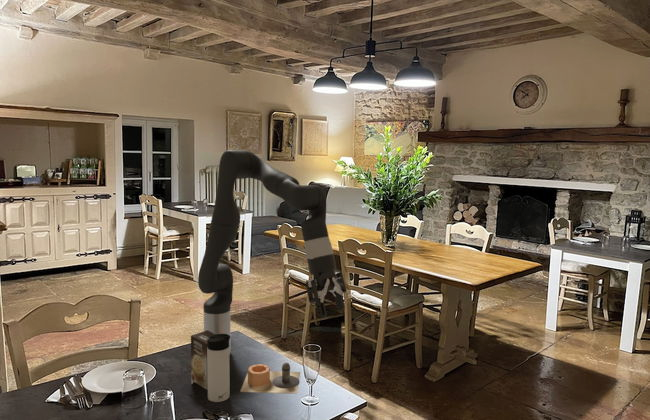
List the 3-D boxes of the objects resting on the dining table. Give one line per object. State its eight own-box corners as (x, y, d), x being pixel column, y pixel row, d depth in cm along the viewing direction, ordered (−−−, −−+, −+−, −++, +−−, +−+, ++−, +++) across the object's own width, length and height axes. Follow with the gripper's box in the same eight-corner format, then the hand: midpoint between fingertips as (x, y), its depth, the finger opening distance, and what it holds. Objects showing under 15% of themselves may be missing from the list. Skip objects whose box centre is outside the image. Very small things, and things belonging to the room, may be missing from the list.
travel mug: (225, 408, 136) (225, 340, 133) (204, 405, 137) (203, 338, 135) (234, 397, 142) (233, 332, 140) (213, 394, 143) (212, 330, 141)
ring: (246, 385, 146) (246, 373, 145) (250, 375, 152) (250, 364, 152) (267, 386, 146) (267, 373, 145) (270, 376, 152) (270, 364, 152)
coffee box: (190, 384, 149) (189, 335, 147) (207, 377, 154) (207, 329, 152) (206, 394, 143) (206, 343, 141) (224, 387, 148) (224, 337, 146)
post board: (240, 396, 142) (240, 371, 142) (248, 374, 156) (248, 352, 155) (297, 398, 142) (297, 373, 141) (300, 376, 156) (301, 353, 155)
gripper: (324, 254, 140) (336, 309, 138) (293, 261, 129) (305, 320, 127) (345, 249, 136) (357, 306, 134) (314, 256, 124) (327, 318, 123)
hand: (332, 313), depth 131 cm, fingers open, 8 cm apart
